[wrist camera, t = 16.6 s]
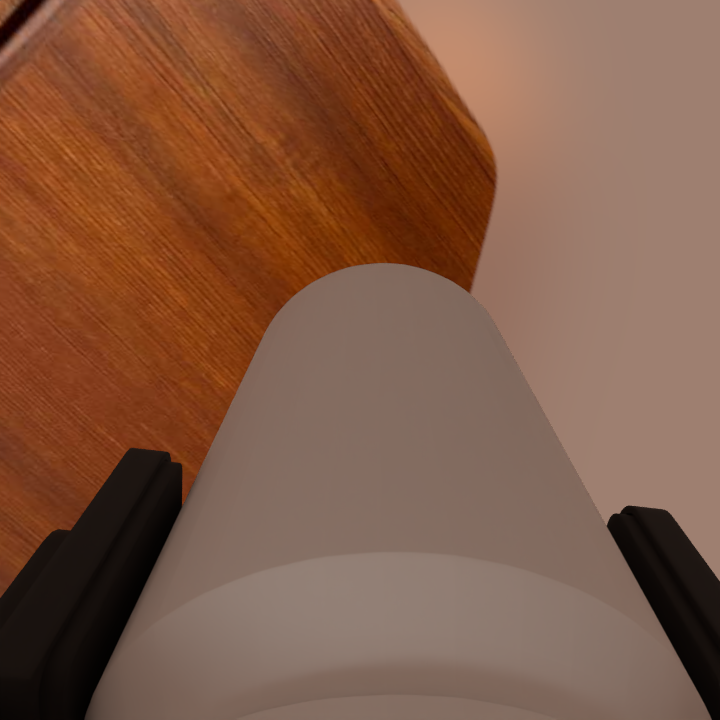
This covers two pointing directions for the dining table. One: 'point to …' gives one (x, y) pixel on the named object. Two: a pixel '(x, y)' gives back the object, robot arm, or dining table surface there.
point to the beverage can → (390, 539)
